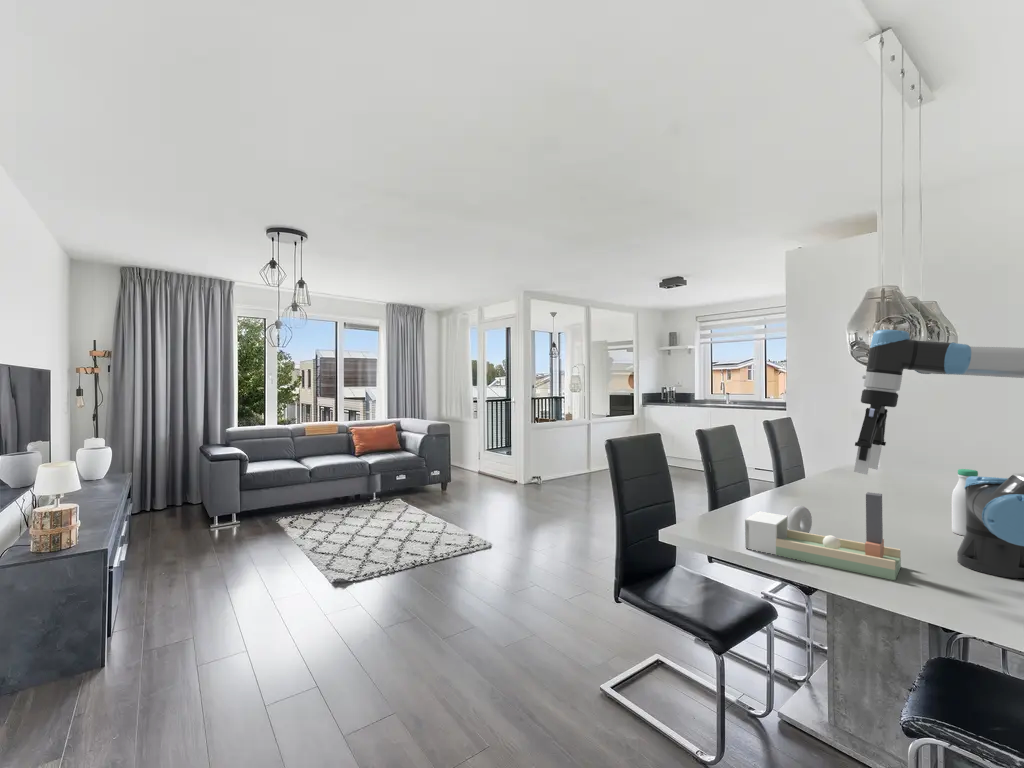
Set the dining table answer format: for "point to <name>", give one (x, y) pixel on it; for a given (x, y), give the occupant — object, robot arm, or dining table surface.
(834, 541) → the ball
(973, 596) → the dining table surface
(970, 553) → the robot arm
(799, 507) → the donut
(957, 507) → the milk bottle
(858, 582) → the dining table surface
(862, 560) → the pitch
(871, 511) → the striker
